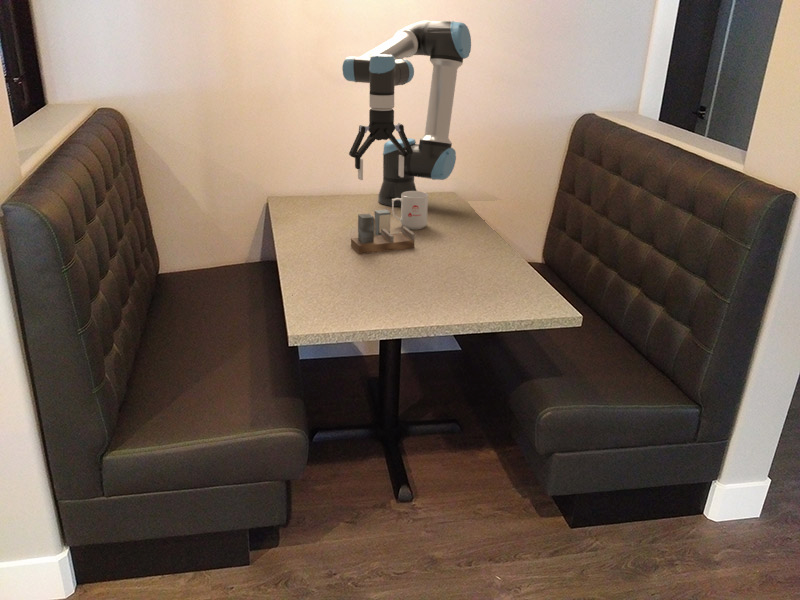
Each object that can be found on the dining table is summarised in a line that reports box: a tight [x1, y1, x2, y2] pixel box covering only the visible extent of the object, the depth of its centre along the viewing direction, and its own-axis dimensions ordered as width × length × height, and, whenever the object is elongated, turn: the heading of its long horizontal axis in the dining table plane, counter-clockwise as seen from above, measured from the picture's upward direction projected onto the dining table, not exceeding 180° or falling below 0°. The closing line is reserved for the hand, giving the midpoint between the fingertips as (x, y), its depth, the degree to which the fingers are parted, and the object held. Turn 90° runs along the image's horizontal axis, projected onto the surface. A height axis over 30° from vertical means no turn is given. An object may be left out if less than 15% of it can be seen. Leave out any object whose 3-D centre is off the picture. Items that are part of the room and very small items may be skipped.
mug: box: [391, 190, 429, 230], centre depth 237 cm, size 12×9×11 cm
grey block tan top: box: [374, 209, 391, 236], centre depth 228 cm, size 4×4×8 cm
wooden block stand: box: [350, 213, 416, 255], centre depth 217 cm, size 18×8×10 cm, turn 112°
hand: (380, 177), depth 223 cm, fingers open, 13 cm apart
